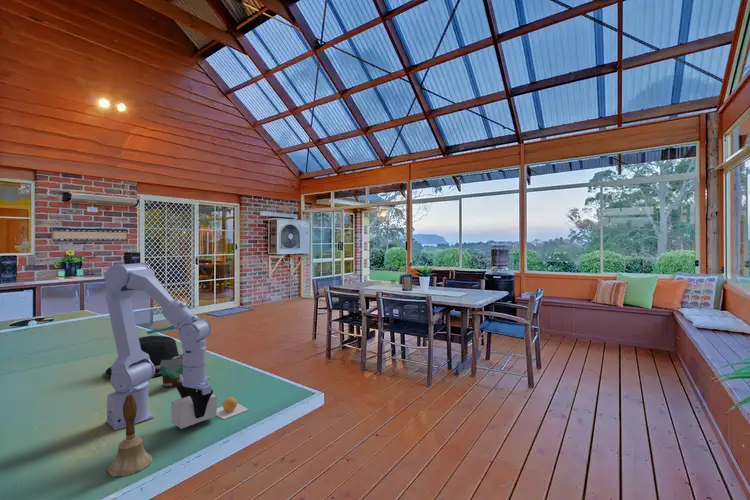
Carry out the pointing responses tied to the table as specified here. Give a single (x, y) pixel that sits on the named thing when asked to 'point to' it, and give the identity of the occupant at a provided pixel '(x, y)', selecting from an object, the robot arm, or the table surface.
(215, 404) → the off-white rectangular block
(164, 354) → the fedora
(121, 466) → the hand bell
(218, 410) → the light gray square block
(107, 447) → the table surface
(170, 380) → the food container
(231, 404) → the ball
